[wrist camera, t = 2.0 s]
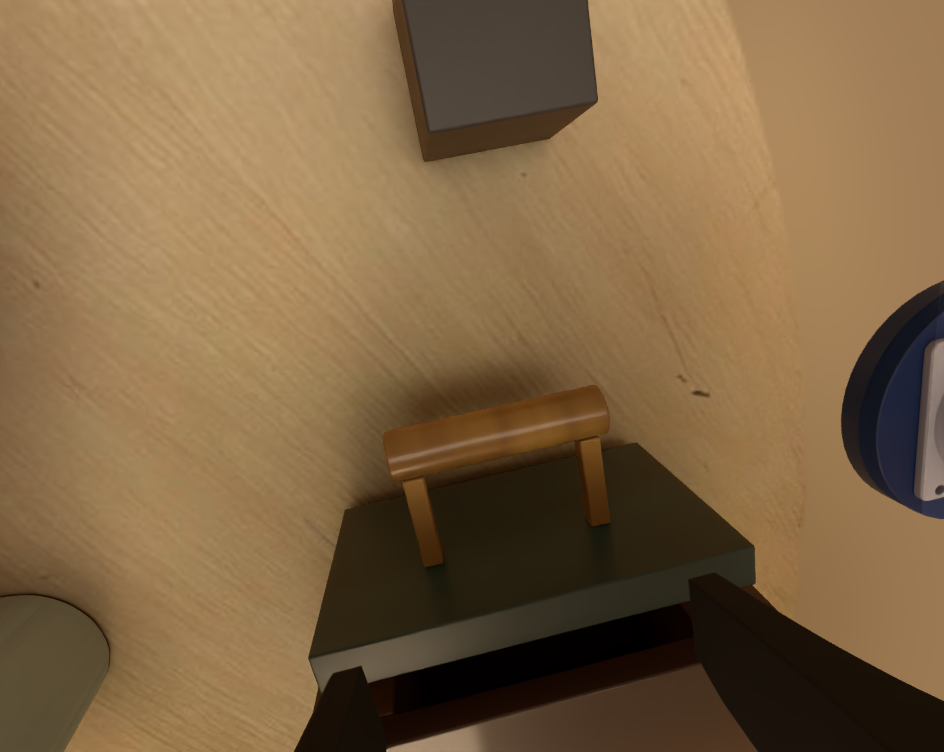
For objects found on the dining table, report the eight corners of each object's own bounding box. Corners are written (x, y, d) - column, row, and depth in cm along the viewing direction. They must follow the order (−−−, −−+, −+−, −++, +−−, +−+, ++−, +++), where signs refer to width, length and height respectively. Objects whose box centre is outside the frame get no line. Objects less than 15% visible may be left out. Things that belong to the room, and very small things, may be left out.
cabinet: (347, 548, 20) (299, 769, 11) (645, 477, 20) (805, 636, 12) (424, 801, 24) (432, 1100, 15) (671, 734, 24) (803, 983, 16)
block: (531, -13, 15) (577, -112, 11) (551, 138, 16) (599, 102, 12) (392, 10, 15) (385, -82, 11) (423, 162, 16) (428, 134, 12)
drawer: (313, 405, 17) (251, 505, 10) (625, 336, 18) (751, 391, 11) (422, 768, 22) (427, 991, 15) (663, 704, 23) (765, 890, 16)
